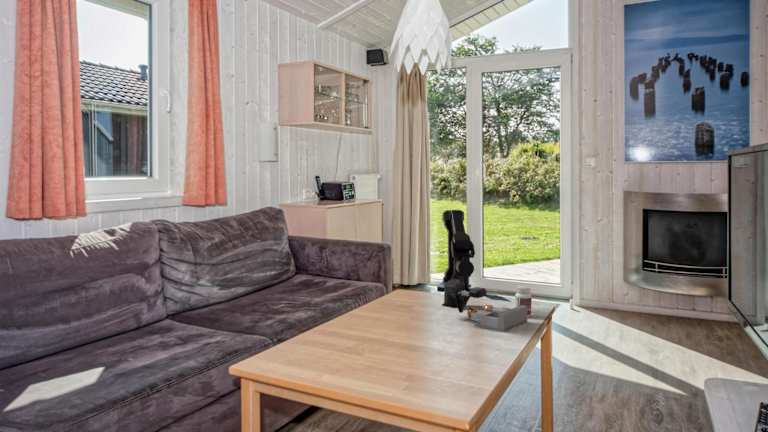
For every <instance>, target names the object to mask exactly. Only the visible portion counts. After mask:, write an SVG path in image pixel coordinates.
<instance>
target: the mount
mask: <svg viewBox="0 0 768 432" xmlns="http://www.w3.org/2000/svg"><path fill="white" fill-rule="evenodd" d="M502 308H503V309H508V310H507V311H505V312H497V311H492V313H493V317H490V316H485V315H480V322H479V321H475V322H474V323H473V325H474V327H479V328H482V329H488V330H491V331H498V332H501V333H505V332H508V331H510V330H512V329H514V328H517V327H519V326H521V325H522V326H523V324H527V323H528V317H527V306H523V305H521V306H518V307H515V306H514V307H506V306H503V307H502Z"/></svg>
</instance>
